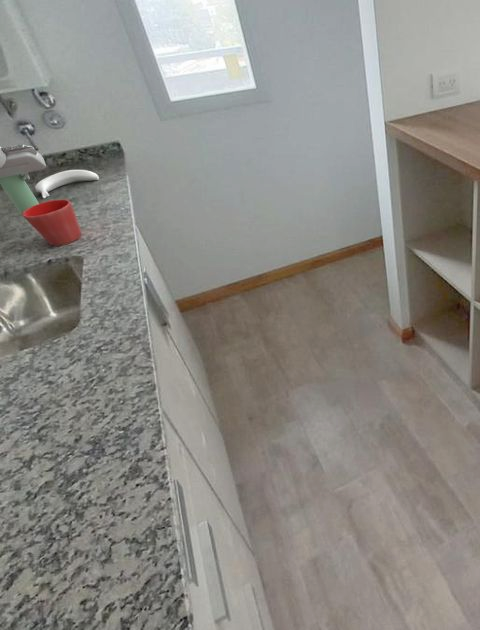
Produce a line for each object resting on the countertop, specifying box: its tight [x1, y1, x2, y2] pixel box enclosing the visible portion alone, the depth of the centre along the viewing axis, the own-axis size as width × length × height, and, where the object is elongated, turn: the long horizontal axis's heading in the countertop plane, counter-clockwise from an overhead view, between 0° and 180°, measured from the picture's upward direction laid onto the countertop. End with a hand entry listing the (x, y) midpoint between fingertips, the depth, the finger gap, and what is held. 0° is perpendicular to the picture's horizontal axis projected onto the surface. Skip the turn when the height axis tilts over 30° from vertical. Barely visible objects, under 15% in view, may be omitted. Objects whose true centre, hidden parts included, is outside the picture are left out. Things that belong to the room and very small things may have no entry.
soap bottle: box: [0, 174, 40, 213], centre depth 121 cm, size 5×5×15 cm
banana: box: [34, 169, 100, 199], centre depth 158 cm, size 5×19×15 cm
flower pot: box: [22, 199, 83, 247], centre depth 121 cm, size 11×11×10 cm
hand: (12, 180), depth 121 cm, fingers closed on soap bottle, 5 cm apart
